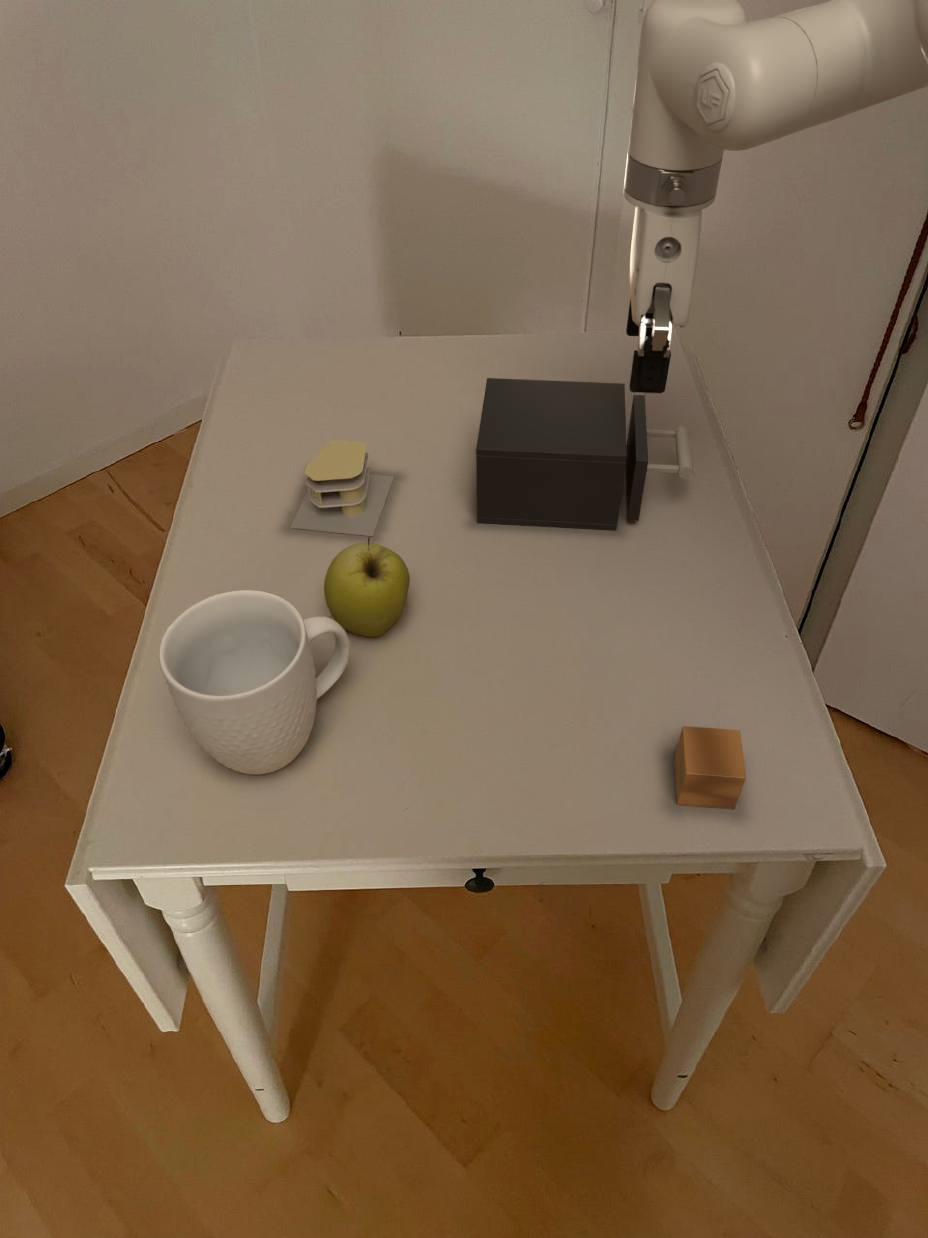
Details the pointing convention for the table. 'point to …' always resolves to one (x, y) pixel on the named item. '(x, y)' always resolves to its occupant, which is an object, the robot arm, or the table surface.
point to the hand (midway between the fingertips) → (644, 361)
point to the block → (709, 767)
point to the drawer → (639, 456)
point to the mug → (248, 676)
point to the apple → (366, 588)
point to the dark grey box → (551, 453)
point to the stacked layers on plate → (342, 491)
